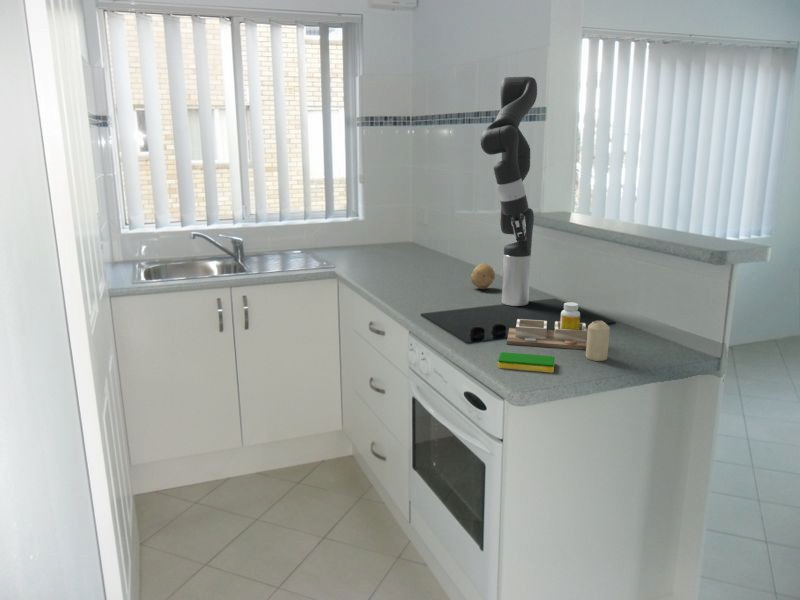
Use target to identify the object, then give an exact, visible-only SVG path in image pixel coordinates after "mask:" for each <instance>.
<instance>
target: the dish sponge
mask: <svg viewBox="0 0 800 600" xmlns="http://www.w3.org/2000/svg"><path fill="white" fill-rule="evenodd" d="M555 360H556V359H555V356H553V355H539V354H531V353H530V354H529V353H519V352H518V353H516V352H507V351H501V352H500V355H499V357H498V359H497V368H498V367H499V369H508V370H517V371H518V370H520V371H531V372H544V373H554V369H555Z"/></svg>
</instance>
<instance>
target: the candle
mask: <svg viewBox="0 0 800 600" xmlns="http://www.w3.org/2000/svg"><path fill="white" fill-rule="evenodd" d="M610 329H611V328H610V326H609V325H608V324H607V323H606V322H604V321H603V320H594V321H592V322H590V324H588V326H587V346H586V350H585V358H586V359H588V360H590V361H596V362H603V361H604V362H605V361H606V360H607V359H608V354H609V344H610V343H609V342H610Z"/></svg>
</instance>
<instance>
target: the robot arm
mask: <svg viewBox="0 0 800 600" xmlns="http://www.w3.org/2000/svg"><path fill="white" fill-rule="evenodd" d="M537 97H538V85H537V80H536V78H534V77H532V76H507V77H504V78H502V81H501V83H500V111H499V112H498V113H497V116H496V118H495V120H494V121H493V122H492V123H491V124H489V125H488V126H487V127H486V128H485V129H484V130H483V131H482V134H481V136H480V137H481V138H480V146H481V150H482V151H483V152H484V153H486V154H487V155H491V156H492V155H497V154H501V160H500V161H498V162H496V163H495V164H494V165H493V172H494V176H495V180H496V181H495V182H496V185H497V192H498V197H499V201H500V206H501V207H500V218H499V219H500V230H501V232H502V233H503V234H504V235H511V236H512V235H515V242H513V243H509V244H506V245H505V246H504V248H503V261H502V262H503V263H502V265H503V266H502V286H501V288H502V289H501V303H502V304H503V305H506V306H513V307H519V306H520V307H521V306H527V305H528V304H529V296H530V295H529V294H530V280H531V279H530V278H531V259H532V257H531V256H532V246H533V245H532V243H533V242H532V241H533V232H534V231H533V229H534V221H535V220H534V218H535V214H534V211H533V208H530V207H529V204H528V197H527V194H526V190H525V184H524V183H523V182H524V180H525V179H526V177H527V175H528V174H529V172H530V169H531V147H530V144H529V143H528V140H526V137H525V136H524V134H523V133H522V131H521V130H520V128H519V126H520V124H521V121H522V120H523V119H524V117H525V116H526V115H527V114H528V113H529V111H530V110H531V109H532V108H533V107H534V105H535V103H536V100H537Z"/></svg>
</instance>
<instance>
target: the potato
mask: <svg viewBox="0 0 800 600" xmlns="http://www.w3.org/2000/svg"><path fill="white" fill-rule="evenodd" d="M495 275H496V273H495V271H494V269H493V267H492V266H491V265H490V264H488V263H480V264H478V265H477V266H475V267H474V268H473V270H472V272H471V275H470V279H469V280H470V282H471V283H472V284H473V286H475V287H477V288H478V289H479V290H485V289H487V288H489V287H490V286H491V285H492V284H493V282H494V281H495V277H496V276H495Z"/></svg>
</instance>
